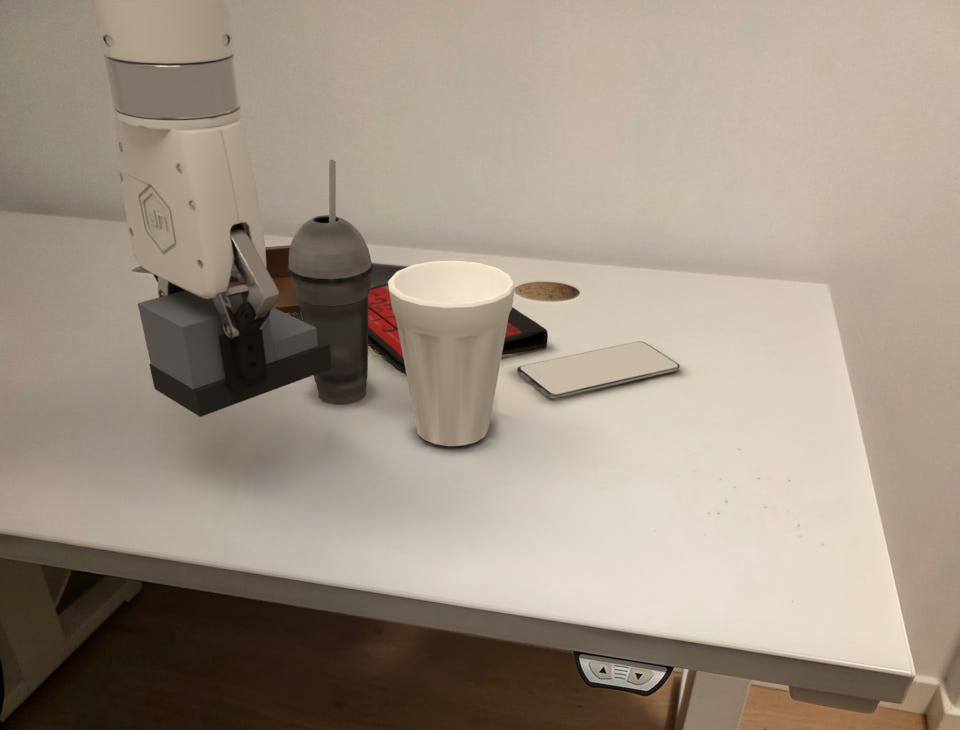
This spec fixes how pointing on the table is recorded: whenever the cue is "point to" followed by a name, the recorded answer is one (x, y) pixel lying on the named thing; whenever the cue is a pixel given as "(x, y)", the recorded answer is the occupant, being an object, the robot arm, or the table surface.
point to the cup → (452, 344)
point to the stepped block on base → (197, 354)
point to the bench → (279, 278)
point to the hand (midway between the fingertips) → (220, 367)
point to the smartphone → (597, 369)
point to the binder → (387, 342)
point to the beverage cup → (335, 297)
